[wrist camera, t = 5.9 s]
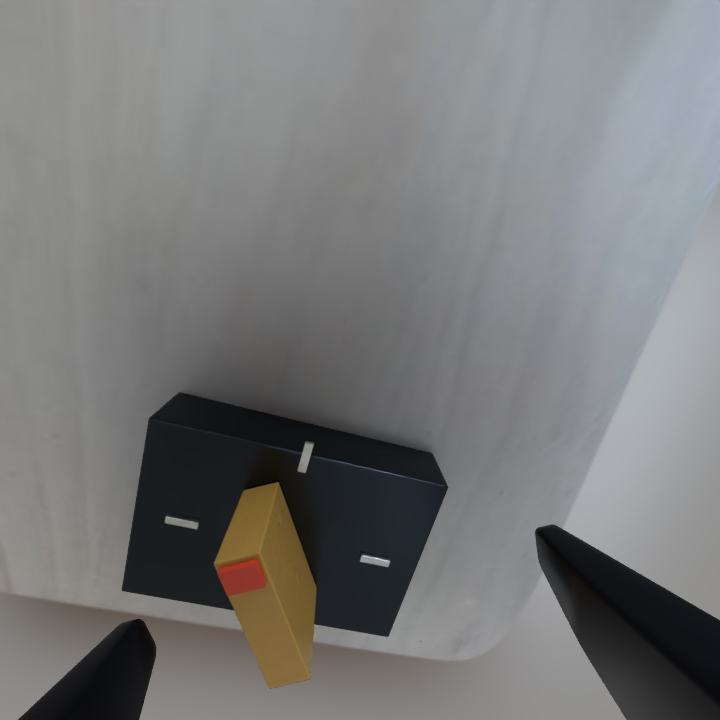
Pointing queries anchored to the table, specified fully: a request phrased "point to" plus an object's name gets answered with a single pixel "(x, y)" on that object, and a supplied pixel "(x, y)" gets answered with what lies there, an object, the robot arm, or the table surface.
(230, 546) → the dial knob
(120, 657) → the robot arm
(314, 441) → the block
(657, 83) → the table surface
